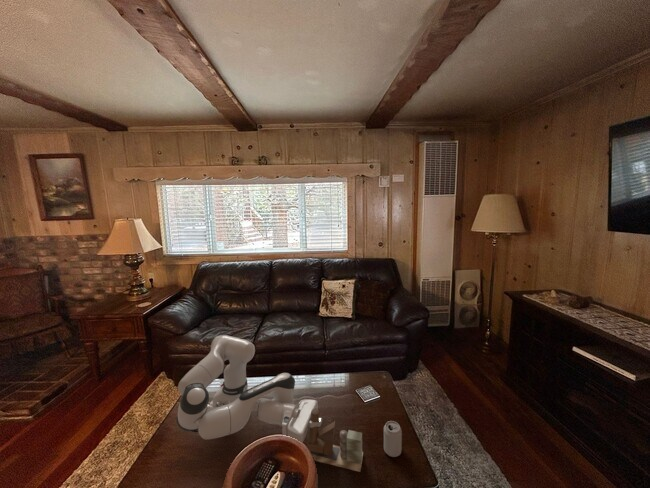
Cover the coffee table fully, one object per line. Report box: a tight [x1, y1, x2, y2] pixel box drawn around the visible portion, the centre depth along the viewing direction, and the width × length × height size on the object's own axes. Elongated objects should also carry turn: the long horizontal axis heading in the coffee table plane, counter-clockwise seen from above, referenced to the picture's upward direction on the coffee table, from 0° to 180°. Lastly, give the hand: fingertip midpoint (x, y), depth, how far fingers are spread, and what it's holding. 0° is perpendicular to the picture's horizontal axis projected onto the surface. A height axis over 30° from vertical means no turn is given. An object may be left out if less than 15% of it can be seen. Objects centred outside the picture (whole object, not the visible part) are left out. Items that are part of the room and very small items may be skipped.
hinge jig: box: [310, 429, 364, 473], centre depth 113 cm, size 24×8×12 cm, turn 74°
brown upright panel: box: [306, 408, 336, 456], centre depth 114 cm, size 4×11×18 cm, turn 79°
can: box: [383, 420, 403, 458], centre depth 115 cm, size 8×8×12 cm
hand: (321, 422), depth 113 cm, fingers closed
